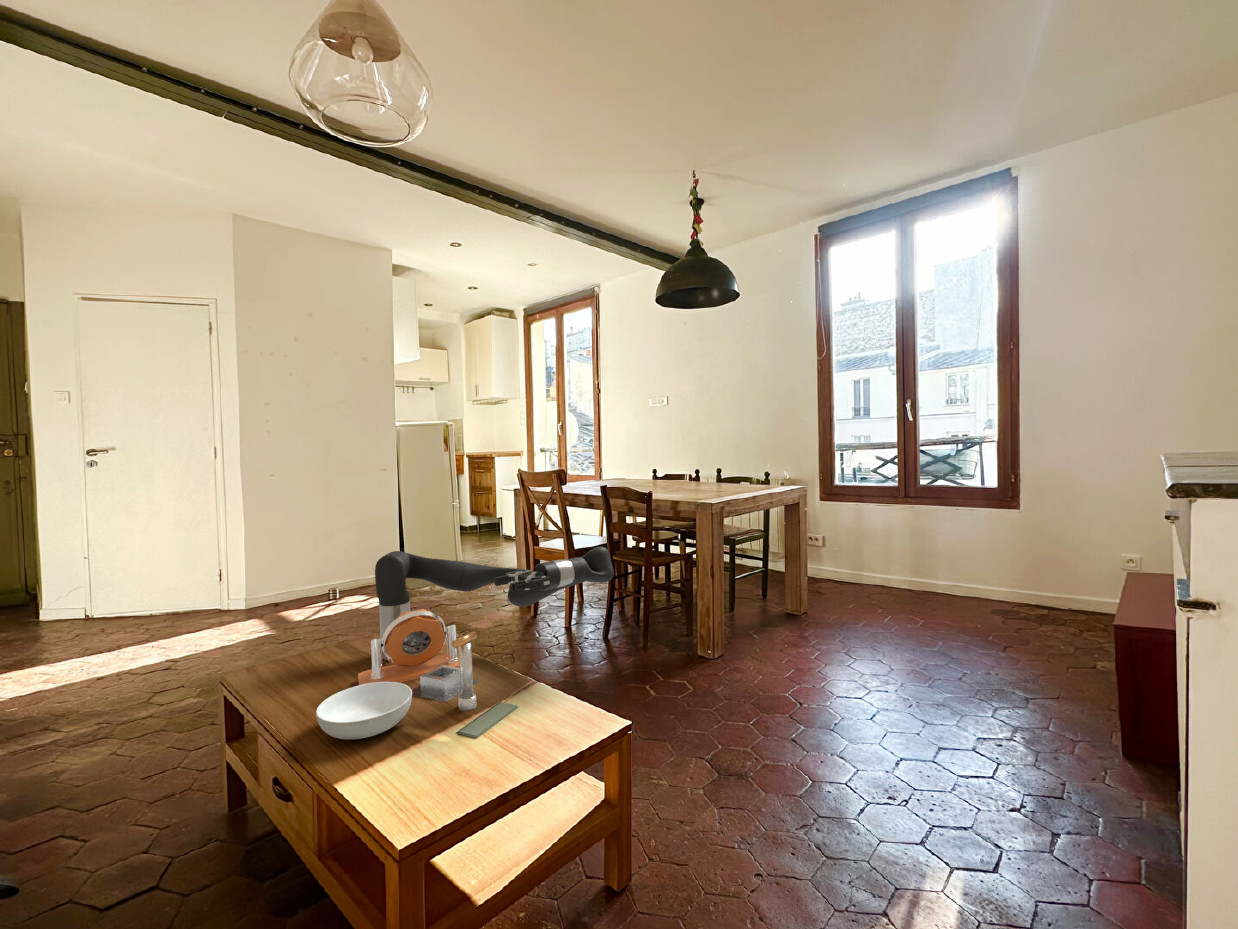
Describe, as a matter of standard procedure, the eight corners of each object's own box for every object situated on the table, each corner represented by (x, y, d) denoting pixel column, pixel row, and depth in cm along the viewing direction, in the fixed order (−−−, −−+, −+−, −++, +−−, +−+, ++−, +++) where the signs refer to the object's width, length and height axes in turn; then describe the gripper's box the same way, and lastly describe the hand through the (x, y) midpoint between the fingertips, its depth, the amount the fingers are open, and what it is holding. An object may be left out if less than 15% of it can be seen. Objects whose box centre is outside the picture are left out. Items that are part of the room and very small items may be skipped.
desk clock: (472, 671, 167) (469, 604, 167) (361, 696, 152) (358, 622, 152) (461, 658, 178) (459, 595, 177) (357, 680, 163) (354, 611, 162)
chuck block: (441, 676, 164) (441, 659, 163) (480, 684, 158) (480, 666, 157) (405, 697, 151) (404, 678, 151) (445, 705, 145) (445, 686, 145)
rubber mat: (467, 697, 150) (467, 695, 150) (517, 707, 143) (517, 705, 143) (423, 725, 135) (423, 723, 135) (476, 738, 128) (476, 735, 128)
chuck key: (469, 700, 146) (466, 630, 145) (483, 703, 144) (480, 632, 144) (451, 712, 140) (448, 639, 139) (465, 716, 138) (462, 641, 137)
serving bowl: (323, 717, 141) (322, 690, 140) (412, 701, 148) (411, 676, 148) (310, 760, 121) (308, 729, 121) (413, 740, 129) (412, 710, 128)
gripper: (569, 592, 153) (517, 604, 143) (541, 583, 164) (490, 593, 154) (568, 564, 153) (516, 575, 143) (540, 557, 164) (489, 566, 153)
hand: (502, 584), depth 148 cm, fingers open, 8 cm apart
